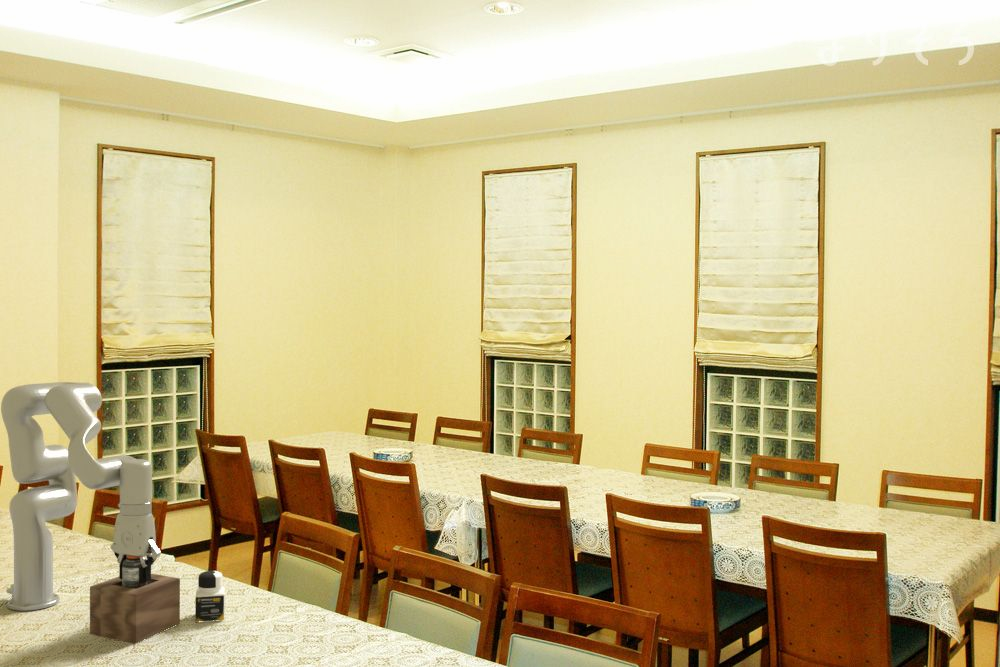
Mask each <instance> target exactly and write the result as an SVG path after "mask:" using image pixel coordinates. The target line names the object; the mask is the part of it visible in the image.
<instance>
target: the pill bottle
mask: <svg viewBox="0 0 1000 667" xmlns="http://www.w3.org/2000/svg"><path fill="white" fill-rule="evenodd" d="M126 557H127V558H126V560H124V561H123V563H122V587H128V588H133V589H137V588H140V587H143V586H145V585H147V582H144V583H140V567H142V564H141V561H140V557H135V556H129V555H126Z"/></svg>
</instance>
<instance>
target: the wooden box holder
mask: <svg viewBox="0 0 1000 667" xmlns="http://www.w3.org/2000/svg"><path fill="white" fill-rule="evenodd" d="M180 601H181V578H180V577H175V576H174V577H173V576H168V575H162V574H157V573H151V580H149V581H147V585H145V586H143V587H140V588H137V589H133V588H128V587H122V579H120V578H119V576H117V577H113V578H111V579H108V580H105V581H102V582H100V583H96V584H94V585H90V586H89V635H92V636H97V637H101V638H106V639H111V640H116V641H120V640H121V641H120V642H126V643H130V642H131V643H132V644H135V643H137V644H139V643H141V642H144V641H145V640H144V639H146V640H148V639H150V638H152V637H151V636H153V635H155V634H157V633H159V634H161V633H160V632H162V631H164V630H166V629H168V628H171V627H173V626H175V625H177V626H179V625H178V624H180V622H181V614H180V611H181V610H180V609H181V608H180V607H181V602H180ZM180 625H181V624H180ZM175 627H176V626H175ZM173 628H174V627H173ZM171 629H172V628H171ZM168 630H169V629H168ZM166 631H167V630H166ZM164 632H165V631H164ZM162 633H163V632H162ZM157 635H158V634H157ZM155 636H156V635H155ZM149 637H150V638H149ZM153 637H154V636H153ZM147 638H148V639H147ZM143 640H144V641H143ZM140 641H141V642H140ZM138 642H139V643H138Z"/></svg>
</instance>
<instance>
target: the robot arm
mask: <svg viewBox="0 0 1000 667" xmlns="http://www.w3.org/2000/svg"><path fill="white" fill-rule="evenodd" d="M102 402H103V397H102V393H101V391H100V390H99V389H98V387H97V386H96V385H94V384H93V383H90V382H72V381H70V382H69V381H68V382H67V381H59V382H58V381H57V382H55V381H54V382H44V383H29V384H28V383H27V384H23V385H18V386H15V387H12V388H10V389H9V390H7V391H6V393H4V395H3V397H2V400H1V403H0V411H1V418H2V421H3V423H4V426H5V429H6V430H5V431H6V434H7V439H8V447H9V448H8V449H9V457H10V466H11V467H10V468H11V472H12V477H13V478H14V481H16V482H17V483H19V484H23V485H24V484H33V483H40V482H45V481H48V485H41V486H37V487H32V488H27V489H24V490H21V491H19V492H17V493H16V494H15V495H13V496H12V497H11V499H10V501H9V514H10V518H11V525H12V530H13V534H12V535H13V583H12V584H11V585H10V587H7V588H6V590H5V591H6V593H7V594H11V598H10V599H8V601H7V608H8V609H10V610H12V611H21V612H22V611H23V612H24V611H26V612H28V611H36V610H37V611H38V610H42V609H45V608H46V609H47V608H50V607H53V606H54V605H56V604H58V602H59V601H60V596H59V595H58V594H57V593H54V542H53V541H54V540H53V539H54V538H53V534H52V532H51V531H50V529H49V528H48V526H47V524H46V522H49V521H53V520H57V519H61V518H65V517H68V516H71V515H72V514H73V513H74V512H75V511H76V509H77V507H78V489H77V488H78V487H77V481H76V480H77V479H78V481H80V483H81V484H82V485H83V486H85V487H86V488H87V489H90V490H93V491H95V490H103V489H107V488H110V487H111V488H112V487H119V503H118V505H117V508H119V513H118V514H117V515H116V519H115V524H114V531H113V542H112V543H111V545H110V549H111V550H112V552H113V553H114V554H113V555H114V556H115V557H116V559H117V563H118V564H119V573H118V574H119V575H118V577H119V578H120V579H122V563H123V561H124V560H126V558H127V557H126V555H129V556H135V557H140V561H141V564H142V567H140V583H144V582H147V581H149V580H151V574H152V565H154V563H155V561H157V558H159V557H160V556H161V554H162V553H161V550H160V548H158V546H157V544H156V542H157V541H156V540H157V537H156V524H155V520H154V515H153V514H152V513H153V512H152V509H153V508H152V506H153V505H152V504H153V502H152V500H153V499H152V496H153V491H152V490H153V482H152V481H153V465H152V462H150V460H147V459H143V458H140V459H139V458H135V457H133V456H130V455H128V454H127V455H125V454H120V455H115V456H108V457H103V458H96V459H95V458H94V457H93V455H92V454H91V453H90V452H89V450H88V448H87V446H86V445H87V444H88V443H90V442H92V441H93V439H95V438H96V437H97V436H98V434H99V433H100V431H101V430H102V423H101V421H100V419H99V418H98V416H96V414H95V412H97V411H99V409H101V407H102V404H103V403H102ZM49 414H50V415H51V416H52V417H53V419H54V421H56V423H57V425H59V427H60V428H61V430H62V431H63V433H64V434H65V436H66V437H68V439H69V444H68V447H66V446H64V445H61V444H50V445H45V440H44V433H43V429H42V427H41V426H40V424H39V422H38V421H36V419H35V418H33V416H41V415H49ZM76 477H77V479H76Z"/></svg>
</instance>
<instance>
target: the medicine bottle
mask: <svg viewBox="0 0 1000 667" xmlns="http://www.w3.org/2000/svg"><path fill="white" fill-rule="evenodd" d="M197 579H198V582H197V583H198V586H197V588H196V592H195V599H194V600H195V602H194V603H195V607H194V609H195V614H194V615H195V619H194V621H195V623H196V622H199V621H213V620H214V622H217V621H216V620H223V621H225V608H226V607H225V600H226V599H225V598H226V597H225V596H226V594H225V591H226V589H225V586H223V573H222V572H220V571H217V570H206V571H203V572H201V573H200V574H198V578H197Z"/></svg>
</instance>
